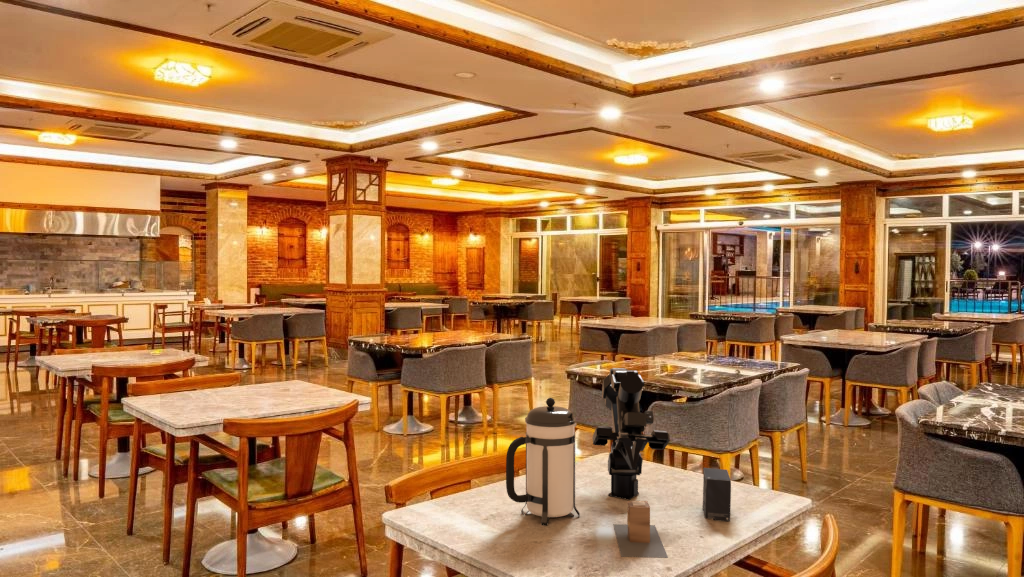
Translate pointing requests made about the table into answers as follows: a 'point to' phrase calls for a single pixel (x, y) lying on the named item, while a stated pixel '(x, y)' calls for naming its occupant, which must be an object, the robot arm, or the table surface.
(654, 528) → the mat
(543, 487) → the coffee press
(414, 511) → the table surface
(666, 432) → the robot arm
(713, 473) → the small box
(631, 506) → the brown rectangular block
